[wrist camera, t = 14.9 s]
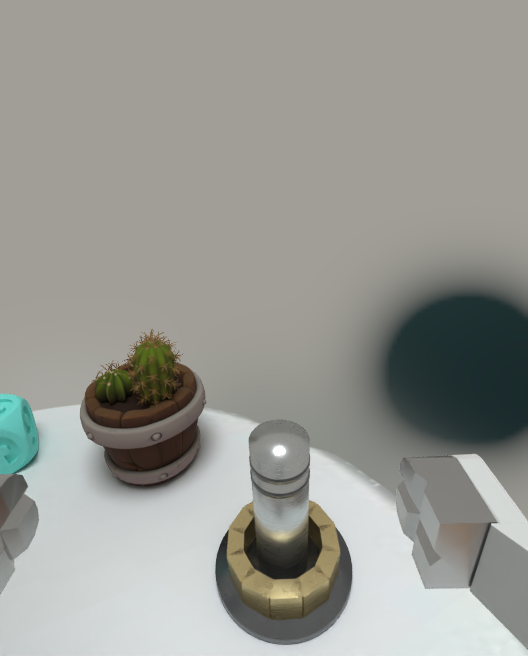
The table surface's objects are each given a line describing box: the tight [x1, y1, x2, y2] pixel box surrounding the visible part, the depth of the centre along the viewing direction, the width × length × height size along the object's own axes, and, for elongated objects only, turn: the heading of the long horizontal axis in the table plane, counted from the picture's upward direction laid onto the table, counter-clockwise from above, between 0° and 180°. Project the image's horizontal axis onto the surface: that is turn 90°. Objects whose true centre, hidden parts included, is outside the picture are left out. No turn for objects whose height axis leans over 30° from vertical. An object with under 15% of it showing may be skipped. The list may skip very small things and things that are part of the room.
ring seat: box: [216, 500, 352, 645], centre depth 36 cm, size 13×13×4 cm
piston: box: [249, 420, 310, 580], centre depth 33 cm, size 5×5×15 cm
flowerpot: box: [80, 331, 206, 486], centre depth 46 cm, size 14×15×20 cm
